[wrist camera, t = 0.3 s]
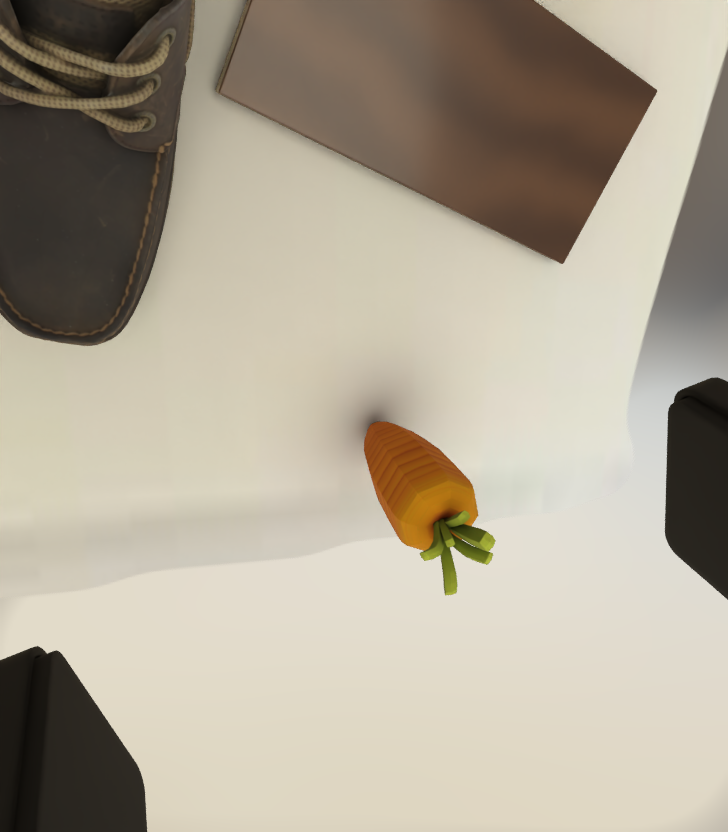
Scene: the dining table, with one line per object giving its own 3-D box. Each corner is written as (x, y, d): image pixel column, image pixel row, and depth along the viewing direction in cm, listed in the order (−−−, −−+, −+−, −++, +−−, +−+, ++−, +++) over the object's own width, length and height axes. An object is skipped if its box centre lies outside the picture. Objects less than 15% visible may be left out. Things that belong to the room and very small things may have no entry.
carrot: (365, 471, 47) (462, 624, 34) (323, 427, 44) (411, 575, 32) (421, 425, 47) (539, 562, 34) (382, 378, 44) (494, 508, 31)
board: (302, -158, 30) (309, -165, 29) (644, 89, 41) (658, 90, 40) (214, 91, 33) (218, 92, 32) (552, 259, 44) (563, 264, 43)
